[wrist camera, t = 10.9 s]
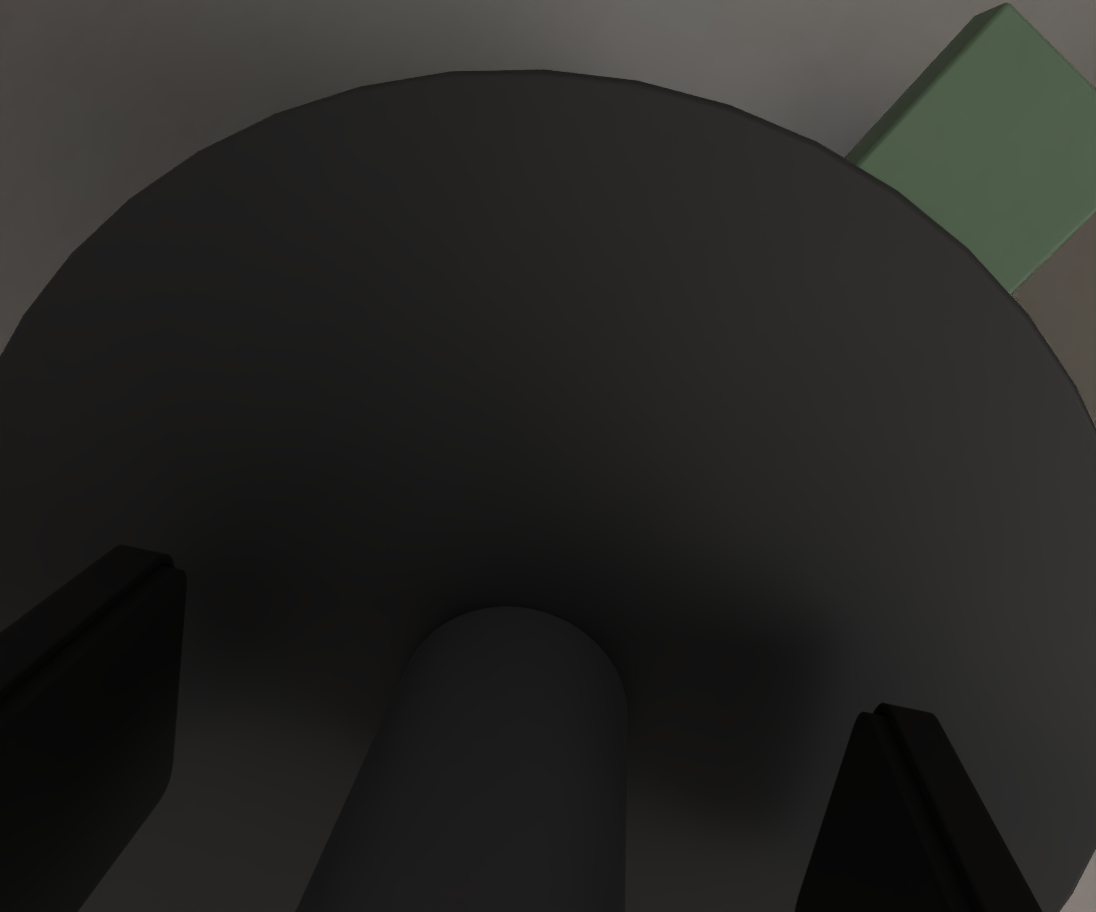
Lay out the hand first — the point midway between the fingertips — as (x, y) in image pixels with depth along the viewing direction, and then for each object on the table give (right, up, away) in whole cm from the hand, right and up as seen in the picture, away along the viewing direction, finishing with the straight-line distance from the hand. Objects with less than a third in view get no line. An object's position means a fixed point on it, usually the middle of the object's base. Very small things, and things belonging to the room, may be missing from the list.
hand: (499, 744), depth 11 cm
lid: (0, 0, +1) cm, 1 cm away
